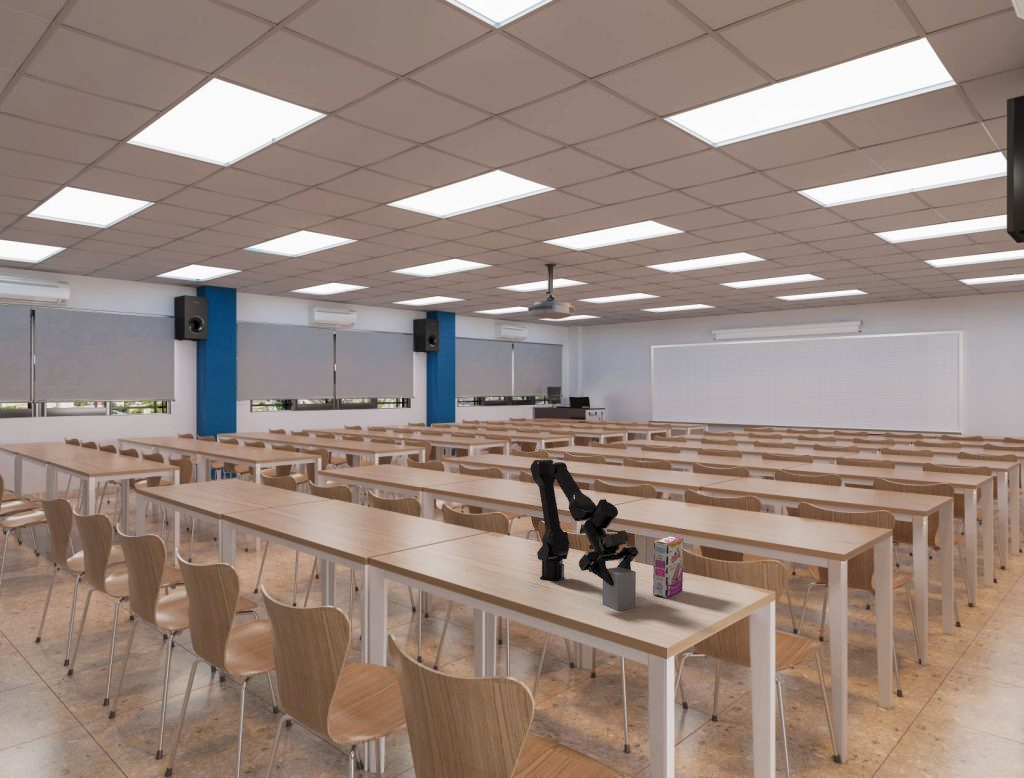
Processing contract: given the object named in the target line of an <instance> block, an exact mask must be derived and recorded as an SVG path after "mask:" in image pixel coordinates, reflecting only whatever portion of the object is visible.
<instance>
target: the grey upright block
mask: <svg viewBox="0 0 1024 778" xmlns="http://www.w3.org/2000/svg"><path fill="white" fill-rule="evenodd" d="M607 570H608V572H609V574H610V576H611V578H612V580H613V582H614V585H613V586H610V585H609V584H608V583H607V582H605V581H604V580H603V579H602V605H604V606H606V607H607V608H610V609H613V610H616V611H619V612H620V611H623V610H628V609H634V608H636V603H637V602H636V599H637V598H636V593H637V592H636V590H637V589H636V583H637V581H636V579H637V576H636V574H637V573H636V572H637V571H635V570H632V569H631V570H629V569H626V568H623V567H617V566H616V567H615V566H614V567H611V568H610V567H609V568H607Z"/></svg>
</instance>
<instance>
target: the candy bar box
mask: <svg viewBox="0 0 1024 778" xmlns="http://www.w3.org/2000/svg"><path fill="white" fill-rule="evenodd" d="M683 566H684V538H682V537H676V536H668V537H665V538H661V539H658V540H654V541H653V577H652V578H653V583H652V596H655V597H660V598H664V599H667V598H670V597H671V596H674V595H676V594H678V593H680V592H682V591H683V585H684V584H683V581H684V580H683V577H684V576H683V572H684V567H683Z"/></svg>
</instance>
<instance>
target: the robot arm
mask: <svg viewBox="0 0 1024 778" xmlns="http://www.w3.org/2000/svg"><path fill="white" fill-rule="evenodd" d="M530 473H531V477H532V480H533V481H534V483H535V484H536V485H537V486H538V490H539V496H540V503H541V508H542V514H543V515H542V516H543V520H544V527H545V530H544V533H543V535H542V539H541V541H542V545H541V547H540V548H539V549H538V551H537V552H536V555H537V560H540V561H541V576H539V579H540V580H546V581H547V580H548V581H555V582H560V581H561V580H562V579H563V578H564V577H565V563H564V561H563V560H567V559H568V555H569V550H570V545H571V543H570V541H569V534H568V532H567V531H564V530H563V529H562V528H561V523H560V516H559V511H558V504H557V500H556V499H557V498H556V492H555V482H557V484H558V486H559V487H560V489H561V490H562V492H563V494H564V496H565V497H566V499H567V500H568V510H569V513H570V514H571V517H572V519H573V520H574V521H575V522H584V523H583V524H581V525H580V529H579V534H580V535H583V534H585V536H586V538H587V539H588V541H589V544H590V545H589V546H588V548H589V550H593V551H588V552H586V551H585V553H584V555H582V557H581V558H580V559H579V561H578V566H579V569H580V570H581V572H583V571H588V572H589V573H593V574H594V575H595V576H596V577H598V578H600V579H601V580H602V581H603V580H604V581H605V582H607V583H608V584H609V585H610V586H613V585H614V582H613V580H612V578H611V576H610V574H609V572H608V570H607V569H608V568H607V564H606V562H612V561H617V563H618V565H617V566H616V567H623V568H626V569H629V570H632V568H631V567H632V566H631V562H633V560H634V559H635V558H636V557H637V556H638V554H640V553H639V551H638V548H637V547H636V546H634V545H630V546H624V547H623V548H622V549H621V550H620V546H622V545H626V544H627V542H628V541H629V539H630V537H629V534H628V533H627V531H626V530H620V531H617V533H611V534H610V533H609V534H608V533H607V532H606V530H605V529H607V528H609V526H611V524H612V523H613V522H614V520H615V519H616V518H617V516H618V515H619V511H618V508H617V507H616V506H615V505H614V504H613V503H611V502H609V501H608V500H607V499H606V498H603V499H599V501H598V503H597V504H595V502H594V501H593V500H592V499H591V498H590V497H589V496H587V494H584V493H583V492H582V490H581V488H580V487H579V485H578V484H577V482H576V480H575V479H574V478H573V476H572V474H571V473H570V471H569V469H568V467H567V464H566V463H565V462H563V461H558V462H557V461H556V462H555V461H554V460H552V459H550V458H549V459H534V460H533V461H532V463H531V464H530ZM618 550H620V551H619V552H618Z"/></svg>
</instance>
